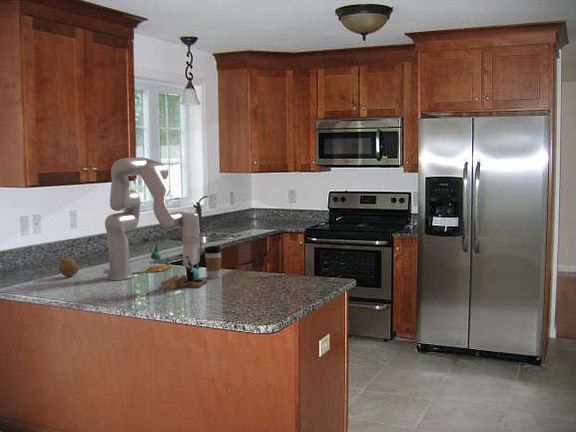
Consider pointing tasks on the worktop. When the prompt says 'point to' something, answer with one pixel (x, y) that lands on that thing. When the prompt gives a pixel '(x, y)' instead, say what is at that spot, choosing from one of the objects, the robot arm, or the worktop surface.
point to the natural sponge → (68, 267)
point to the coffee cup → (213, 261)
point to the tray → (193, 283)
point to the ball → (195, 273)
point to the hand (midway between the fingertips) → (192, 278)
